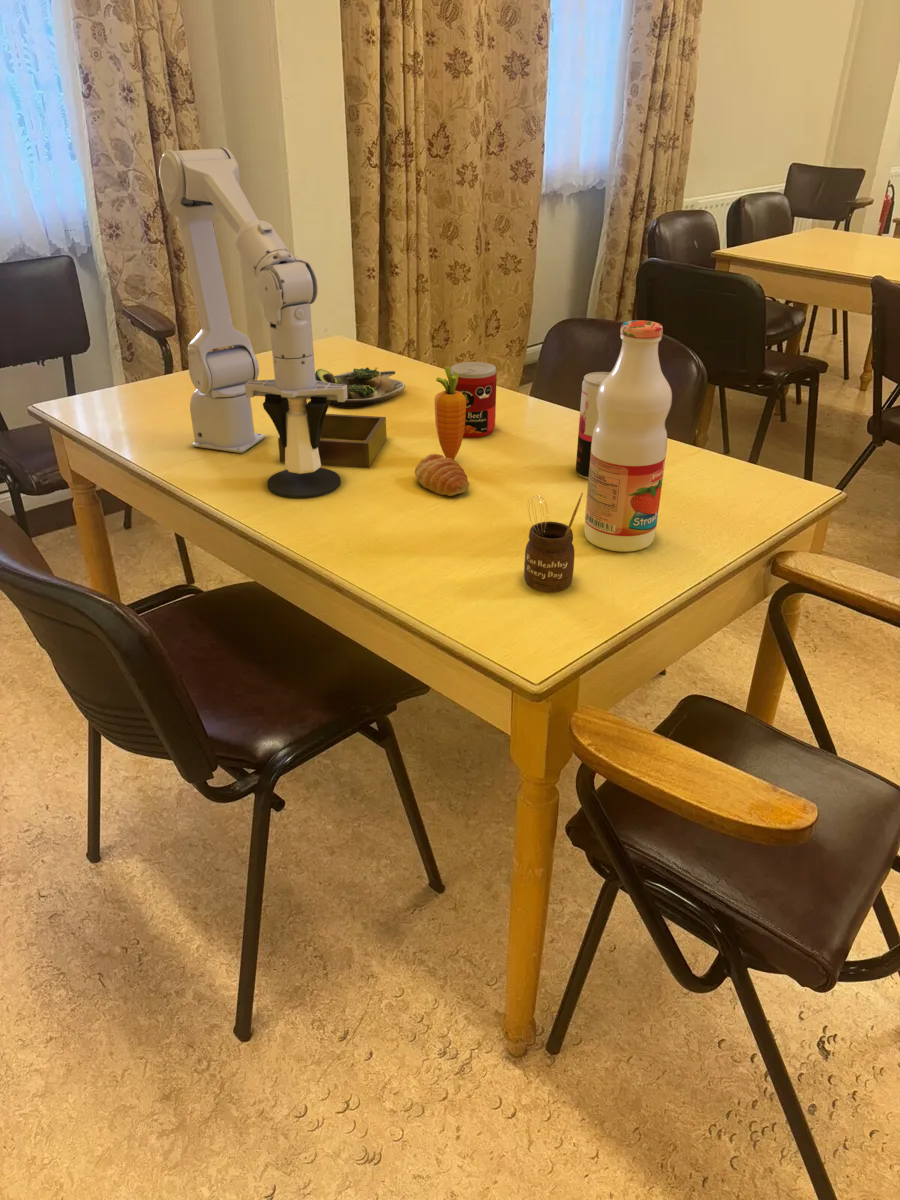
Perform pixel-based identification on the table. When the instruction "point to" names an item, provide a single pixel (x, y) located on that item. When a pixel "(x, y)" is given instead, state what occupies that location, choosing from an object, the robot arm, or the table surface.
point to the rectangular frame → (349, 451)
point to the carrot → (450, 415)
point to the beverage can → (588, 420)
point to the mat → (304, 483)
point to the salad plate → (363, 386)
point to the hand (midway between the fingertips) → (301, 445)
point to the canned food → (477, 396)
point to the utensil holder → (549, 554)
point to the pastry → (441, 475)
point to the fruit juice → (629, 444)
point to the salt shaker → (299, 439)
